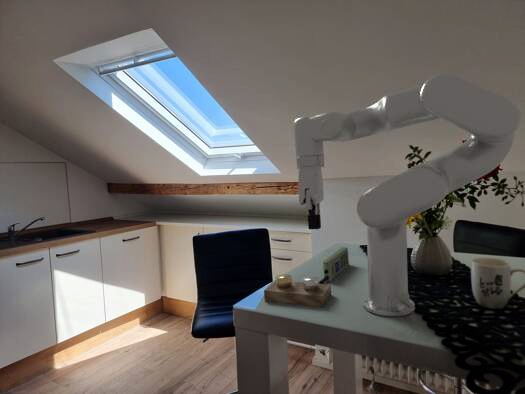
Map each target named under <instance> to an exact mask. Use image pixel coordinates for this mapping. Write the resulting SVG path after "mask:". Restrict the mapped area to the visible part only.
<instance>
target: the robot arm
mask: <svg viewBox="0 0 525 394" xmlns="http://www.w3.org/2000/svg"><path fill="white" fill-rule="evenodd" d="M439 119H443V120H444V121H446V122H448V123H450V124H452V125H454V126H456V127H458V128H460V129H462V130H464V131H466V132H467V133H470V134H471V135H470V136H469V138H468V139H466V140H465V141H464V142H462V143H461V144H460V145H458V146H455V147H454V148H452V149H449V151H447V152H445V153H443V154H441V155H439V156H437V157H435V158H434V159H432V160H429V161H426V162H422V163H419V164H417V165H413V166H411V167H410V168H408V169H406V170H404V171H402V172H400V173H399V174H397V175H395V176H392V177H391V178H389V179H386V180H385V181H383V182H380V183H379V184H378V185H375V186H373V187H372V188H369V189H368V190H366V191H365V192H364V193H363V194H362V195H361V196H360V198H359V199H358V202H357V205H356V212H357V216H358V218H359V220H360V222H362V223H363V224H364V225H365V226H366V227H367V229H366V230H367V231H366V232H367V233H366V241H367V242H366V245H367V273H368V275H367V276H368V277H367V278H368V281H367V282H368V296H366V297H365V298H364V299H363V301H362V306H363V308H364V309H365V310H366V311H368V312H370V313H372V314H375V315H379V316H385V317H403V316H407V315H410V314H412V313H413V312H414V311H415V310H416V307H415V306H416V304H415V302H414V301H413V300H412V299H410V294H409V290H408V289H409V287H408V286H409V285H408V284H409V283H408V281H409V280H408V234H407V233H408V231H407V230H408V226H407V225H408V219H409V218H412V217H413V216H416V215H418V214H420V213H423V212H425V211H426V210H429V209H431V208H433V207H435V206H436V205H438V204H439V203H440V202H441V201H443V200H444V198H445V197H446V196H447V195H449V194H450V193H452V192H454V191H456V190H459V189H461V188H462V187H463V188H464V187H465V186H466V185H469V184H470V183H472V182H475V181H476V180H478V179H480V178H482V177H484V176H486V175H487V174H489V173H491V172H492V171H493V170H495V169H496V168H497V167H498V166H500V164H501V163H503V162H504V160H505V159H506V158H507V156H508V155H509V153H510V150H511V149H512V146H513V143H514V139H515V135H516V134H515V133H516V131H517V130H518V129H519V127H520V125H521V121H522V113H521V111H520V108H519V107H518V106H517V104H516V103H515V102H513V101H512V100H510V99H509V98H507V97H505V96H502V95H500V94H498V93H495V92H493V91H491V90H489V89H487V88H484V87H482V86H480V85H478V84H475V83H473V82H471V81H469V80H467V79H465V78H463V77H461V76H458V75H456V74H454V73H448V72H442V73H437V74H435V75H433V76H431V77H429V78H428V79H427V80H426V81H424V83H423V84H420V85H417V86H413V87H409V88H406V89H403V90H400V91H396V92H392V93H389V94H386V95H385V96H383V97H381V98H380V99H379V100H378V101H377V102H376V103H373V105H371V106H370V105H369V106H368V107H365V108H362V109H358V110H355V111H351V112H348V113H342V112H337V111H328V112H324V113H321V114H318V115H314V116H313V115H311V116H308V115H307V116H302V117H298V118H296V119H295V120H294V122H293V129H294V130H293V131H294V141H295V142H294V143H295V144H294V146H295V157H296V159H295V160H296V161H295V162H296V169H297V170H298V177H297V178H298V181H297V183H298V187H297V188H298V204H299V205H300V206H303V205H305V209H306V212H307V224H308V225H307V227H308V228H307V229H308V230H320V229H321V228H322V222H321V220H322V219H321V203H322V202H323V201H324V196H325V194H324V180H323V173H322V172H323V171H322V168H326V167H325V155H324V153H325V152H324V151H325V150H324V142H334V143H335V142H338V143H339V142H341V143H343V142H350V141H353V140H357V139H361V138H366V137H370V136H374V135H377V134H380V133H386V132H390V131H393V130H397V129H398V130H399V129H403V128H407V127H410V126H413V125H417V124H421V123H425V122H430V121H434V120H439Z"/></svg>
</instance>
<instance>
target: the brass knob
mask: <svg viewBox="0 0 525 394" xmlns="http://www.w3.org/2000/svg"><path fill="white" fill-rule="evenodd" d="M275 281H277V287H280V288H288V287H290V286H292V282H293V279H292V275H291V274H286V273H285V274H283V273H282V274H278V275H276V278H275Z"/></svg>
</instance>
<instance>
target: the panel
mask: <svg viewBox="0 0 525 394" xmlns="http://www.w3.org/2000/svg"><path fill="white" fill-rule="evenodd" d="M331 296H332V285H331V284H326V283H324V284H319V288H318V289H316V290H315V291H311V290H306V289H304V288H303V281H301V282H300V281H292V286H290V287H288V288H280V287H277V281H276V280H274V281H273V282H272V283H271V284H269V285H268V286H267V287H266V288H265V289H264V290H263V297H264V298H263V299H264V301H265V302H273V303H274V302H275V303H283V304H293V305H300V306H301V305H302V306H309V307H312V306H313V307H319V308H320V307H321V308H324V306H325V305H326V303H327V302H328V301H329V299H330V298H331Z"/></svg>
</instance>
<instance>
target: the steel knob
mask: <svg viewBox="0 0 525 394" xmlns="http://www.w3.org/2000/svg"><path fill="white" fill-rule="evenodd" d="M319 281H320V280H319V277H318V276H316V275H315V276H313V275H308V276H304V277H302V282H303V288H304V289H306V290H311V291H315V290H316V289H318V288H319Z"/></svg>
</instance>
